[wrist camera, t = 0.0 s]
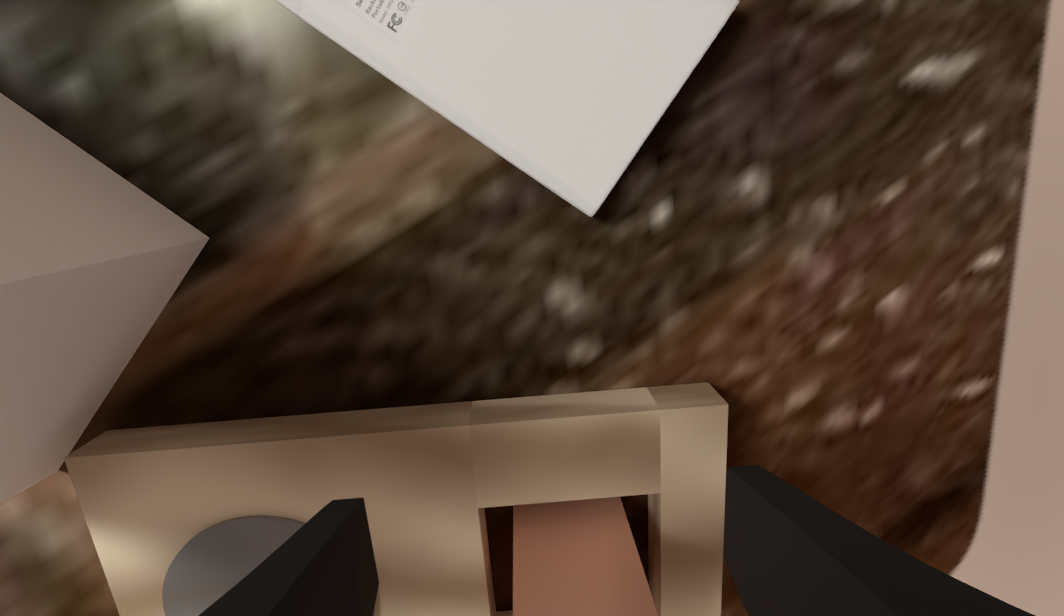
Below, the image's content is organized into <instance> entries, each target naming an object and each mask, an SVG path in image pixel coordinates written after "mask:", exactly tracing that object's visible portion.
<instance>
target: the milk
mask: <svg viewBox="0 0 1064 616" xmlns="http://www.w3.org/2000/svg"><path fill="white" fill-rule="evenodd" d="M208 240H209V237H208V236H206V235H205V234H203V233H202V232H200V231H199V230H198V229H196V228H195V227H193V226H192V225H190V224H189V223H187V222H186V221H185V220H183V219H182V218H180V217H179V216H177V215H176V214H174V213H173V212H172V211H170V210H169V209H167V208H166V207H164V206H163V205H161V204H160V203H159V202H157V201H156V200H154V199H153V198H151V197H150V196H149V195H147V194H146V193H144V192H143V191H141V190H140V189H138V188H137V187H136V186H134V185H133V184H131V183H130V182H128V181H127V180H125V179H124V178H123V177H121V176H120V175H118V174H117V173H115V172H114V171H112V170H111V169H110V168H108V167H107V166H105V165H104V164H102V163H101V162H100V161H98V160H97V159H95V158H94V157H92V156H91V155H89V154H88V153H87V152H85V151H84V150H82V149H81V148H79V147H78V146H76V145H75V144H74V143H72V142H71V141H69V140H68V139H66V138H65V137H63V136H62V135H61V134H59V133H58V132H56V131H55V130H53V129H52V128H50V127H49V126H48V125H46V124H45V123H43V122H42V121H40V120H39V119H38V118H36V117H35V116H33V115H32V114H30V113H29V112H27V111H26V110H25V109H23V108H22V107H20V106H19V105H17V104H16V103H14V102H13V101H12V100H10V99H9V98H7V97H6V96H4V95H3V94H1V93H0V505H1V504H2V503H4V502H6V501H7V500H9V499H11V498H12V497H14V496H16V495H17V494H19V493H21V492H23V491H24V490H26V489H28V488H29V487H31V486H33V485H34V484H36V483H38V482H39V481H41V480H43V479H45V478H46V477H48V476H50V475H51V474H53V473H55V472H56V471H58V470H59V469H60V467H61V466H62V464H63V462H64V457H66V456H68V455H69V453H70V452H71V450H72V449H73V447H74V446H75V444H76V442H77V441H78V439H79V438H80V436H81V435H82V433H83V432H84V430H85V429H86V427H87V426H88V424H89V423H90V421H91V419H92V418H93V416H94V415H95V413H96V412H97V410H98V409H99V407H100V406H101V404H102V403H103V401H104V399H105V398H106V396H107V395H108V393H109V392H110V390H111V389H112V387H113V386H114V384H115V383H116V381H117V380H118V378H119V376H120V375H121V373H122V372H123V370H124V369H125V367H126V366H127V364H128V363H129V361H130V360H131V358H132V356H133V355H134V353H135V352H136V350H137V349H138V347H139V346H140V344H141V343H142V341H143V340H144V338H145V337H146V335H147V333H148V332H149V330H150V329H151V327H152V326H153V324H154V323H155V321H156V320H157V318H158V317H159V315H160V313H161V312H162V310H163V309H164V307H165V306H166V304H167V303H168V301H169V300H170V298H171V297H172V295H173V294H174V292H175V290H176V289H177V287H178V286H179V284H180V283H181V281H182V280H183V278H184V277H185V275H186V274H187V272H188V270H189V269H190V267H191V266H192V264H193V263H194V261H195V260H196V258H197V257H198V255H199V254H200V252H201V250H202V249H203V247H204V246H205V244H206V243H207V241H208Z"/></svg>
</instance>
